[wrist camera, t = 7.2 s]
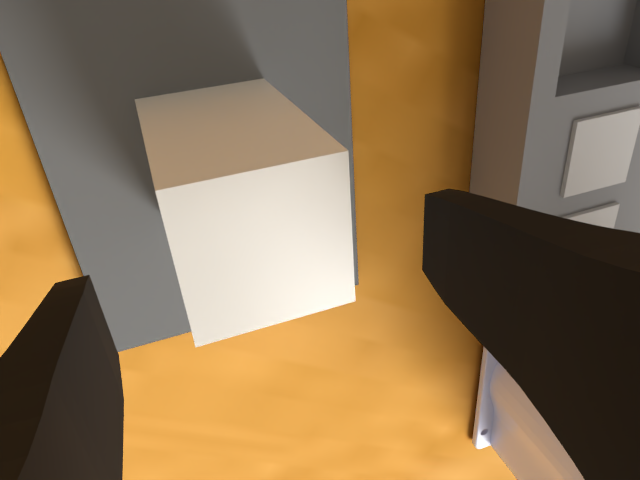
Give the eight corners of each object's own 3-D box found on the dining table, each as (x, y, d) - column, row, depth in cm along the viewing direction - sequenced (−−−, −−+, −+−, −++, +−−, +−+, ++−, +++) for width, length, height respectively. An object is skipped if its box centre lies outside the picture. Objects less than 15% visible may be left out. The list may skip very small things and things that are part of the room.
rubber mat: (353, 278, 23) (358, 284, 22) (112, 345, 20) (112, 353, 20) (335, -112, 15) (341, -113, 15) (-47, -86, 13) (-52, -87, 12)
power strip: (580, 247, 27) (635, 283, 24) (461, 283, 25) (506, 325, 22) (680, -208, 18) (788, -235, 15) (502, -204, 16) (587, -234, 13)
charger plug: (277, 191, 19) (355, 301, 13) (164, 216, 18) (195, 347, 12) (263, 78, 17) (348, 150, 11) (134, 99, 16) (155, 191, 10)
